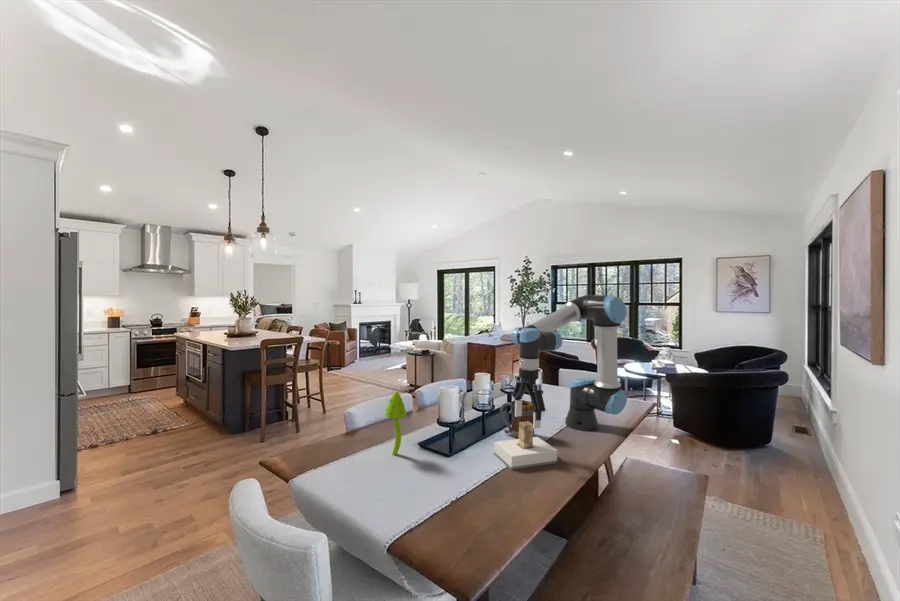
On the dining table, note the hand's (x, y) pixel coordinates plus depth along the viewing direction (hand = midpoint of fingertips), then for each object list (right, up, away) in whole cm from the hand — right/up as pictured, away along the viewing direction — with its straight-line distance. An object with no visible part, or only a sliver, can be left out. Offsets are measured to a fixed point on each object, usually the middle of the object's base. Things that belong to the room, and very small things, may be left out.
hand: (527, 421), depth 159 cm
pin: (-1, -14, 0) cm, 14 cm away
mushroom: (-52, -13, 0) cm, 54 cm away
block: (-1, -15, 0) cm, 15 cm away
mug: (0, -14, +24) cm, 28 cm away
